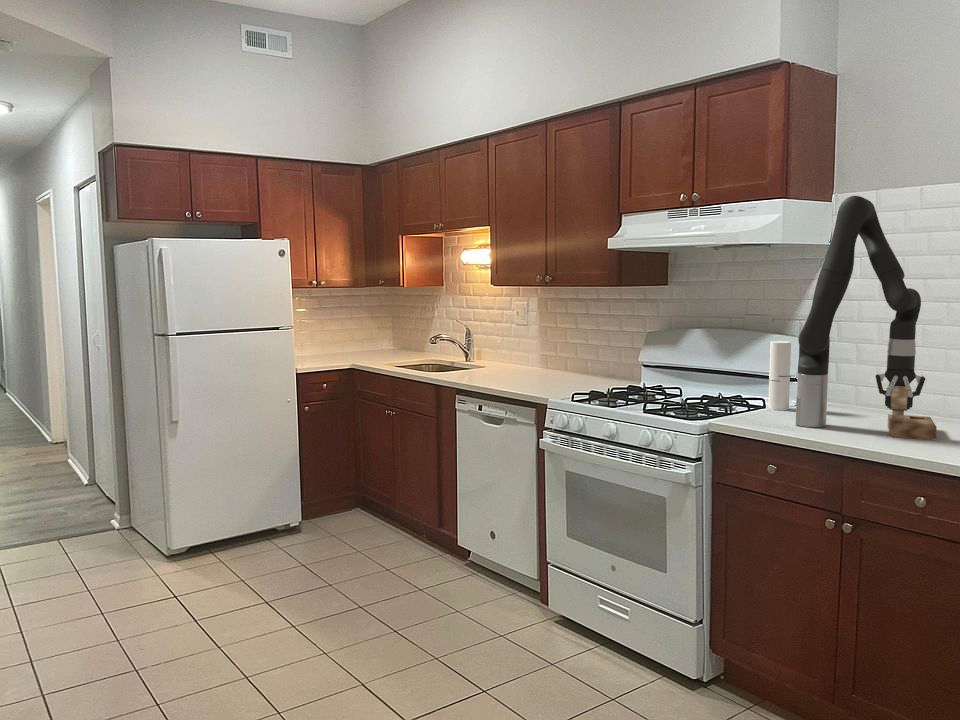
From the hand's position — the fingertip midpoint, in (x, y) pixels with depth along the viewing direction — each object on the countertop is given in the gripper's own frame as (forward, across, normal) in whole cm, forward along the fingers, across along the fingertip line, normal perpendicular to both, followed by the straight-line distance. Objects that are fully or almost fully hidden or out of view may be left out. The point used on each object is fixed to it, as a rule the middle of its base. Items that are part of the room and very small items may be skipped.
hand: (898, 408), depth 243 cm
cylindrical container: (+9, +37, -37) cm, 53 cm away
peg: (+4, 0, 0) cm, 4 cm away
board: (+8, -4, -5) cm, 11 cm away
